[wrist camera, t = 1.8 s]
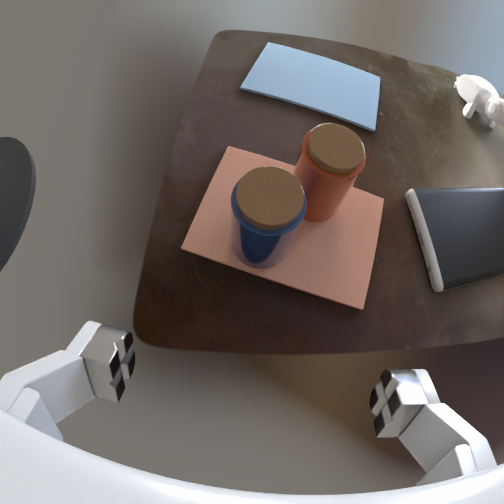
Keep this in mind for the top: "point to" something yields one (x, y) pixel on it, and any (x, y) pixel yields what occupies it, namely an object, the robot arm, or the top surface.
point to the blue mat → (315, 84)
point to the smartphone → (459, 233)
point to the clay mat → (305, 241)
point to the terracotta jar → (328, 168)
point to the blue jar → (265, 215)
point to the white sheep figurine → (480, 98)
